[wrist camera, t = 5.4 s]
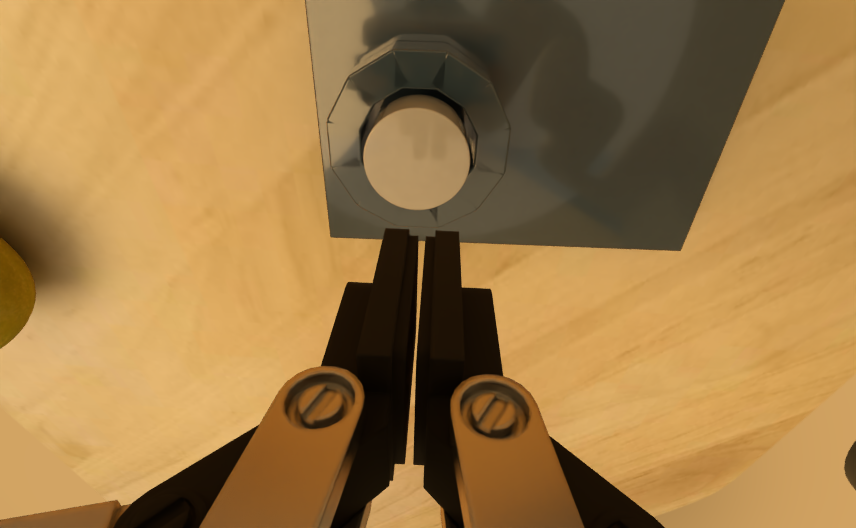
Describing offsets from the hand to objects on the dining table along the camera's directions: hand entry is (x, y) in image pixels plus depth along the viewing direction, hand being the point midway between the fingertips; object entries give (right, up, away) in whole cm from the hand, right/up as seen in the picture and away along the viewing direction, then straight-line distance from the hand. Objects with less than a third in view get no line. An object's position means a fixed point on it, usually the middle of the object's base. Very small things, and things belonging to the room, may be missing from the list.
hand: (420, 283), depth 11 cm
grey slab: (+4, +7, +9) cm, 12 cm away
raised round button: (0, +5, +6) cm, 8 cm away
